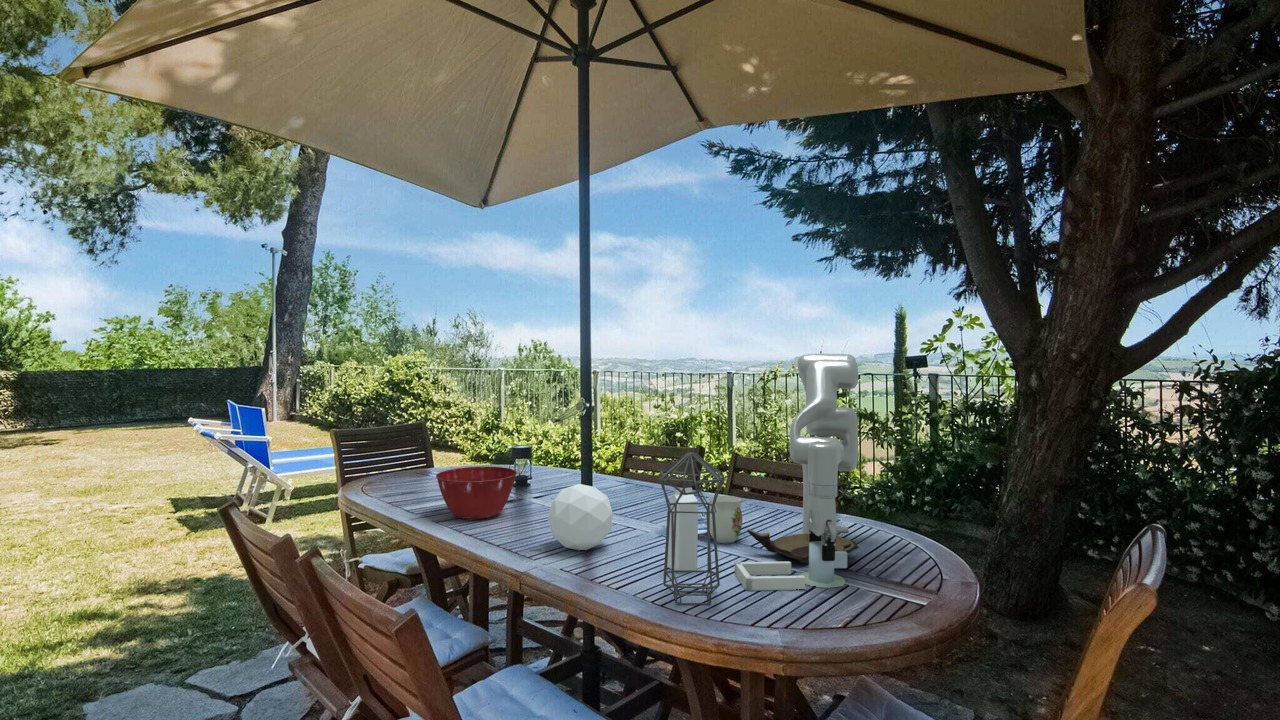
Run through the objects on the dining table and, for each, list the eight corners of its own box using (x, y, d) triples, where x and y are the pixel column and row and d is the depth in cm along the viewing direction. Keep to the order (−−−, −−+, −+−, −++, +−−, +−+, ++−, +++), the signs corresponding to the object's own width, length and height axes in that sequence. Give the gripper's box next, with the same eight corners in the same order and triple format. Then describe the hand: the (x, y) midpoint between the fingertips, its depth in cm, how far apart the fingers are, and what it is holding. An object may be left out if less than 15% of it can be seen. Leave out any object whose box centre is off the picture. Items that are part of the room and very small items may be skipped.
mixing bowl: (474, 529, 217) (474, 483, 217) (418, 517, 233) (418, 474, 233) (532, 513, 241) (533, 471, 241) (478, 503, 257) (478, 463, 256)
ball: (586, 565, 203) (614, 507, 212) (601, 559, 185) (631, 497, 194) (532, 535, 202) (562, 479, 211) (542, 527, 184) (575, 466, 193)
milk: (697, 570, 178) (699, 489, 178) (678, 573, 175) (680, 491, 175) (685, 564, 183) (686, 485, 183) (666, 567, 180) (668, 487, 180)
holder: (789, 572, 177) (789, 561, 177) (805, 589, 164) (805, 577, 164) (734, 573, 176) (734, 562, 176) (746, 590, 163) (746, 578, 163)
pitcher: (752, 535, 213) (753, 493, 213) (730, 549, 198) (730, 503, 198) (721, 530, 219) (722, 489, 219) (697, 543, 204) (698, 499, 204)
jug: (813, 583, 168) (814, 548, 168) (805, 575, 174) (805, 541, 174) (850, 582, 168) (851, 547, 168) (841, 574, 175) (841, 540, 175)
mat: (835, 572, 177) (835, 571, 177) (852, 588, 165) (852, 586, 165) (791, 573, 177) (791, 572, 177) (806, 588, 165) (806, 587, 165)
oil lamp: (848, 577, 174) (848, 548, 174) (741, 559, 189) (741, 532, 189) (864, 555, 193) (865, 529, 193) (766, 540, 208) (766, 516, 208)
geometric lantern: (659, 609, 150) (658, 456, 151) (660, 587, 166) (659, 448, 166) (728, 610, 149) (727, 456, 150) (722, 588, 165) (722, 448, 166)
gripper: (797, 482, 179) (797, 544, 180) (819, 497, 162) (819, 566, 163) (824, 482, 180) (823, 543, 181) (849, 497, 163) (848, 565, 163)
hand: (821, 554), depth 172 cm, fingers open, 9 cm apart
